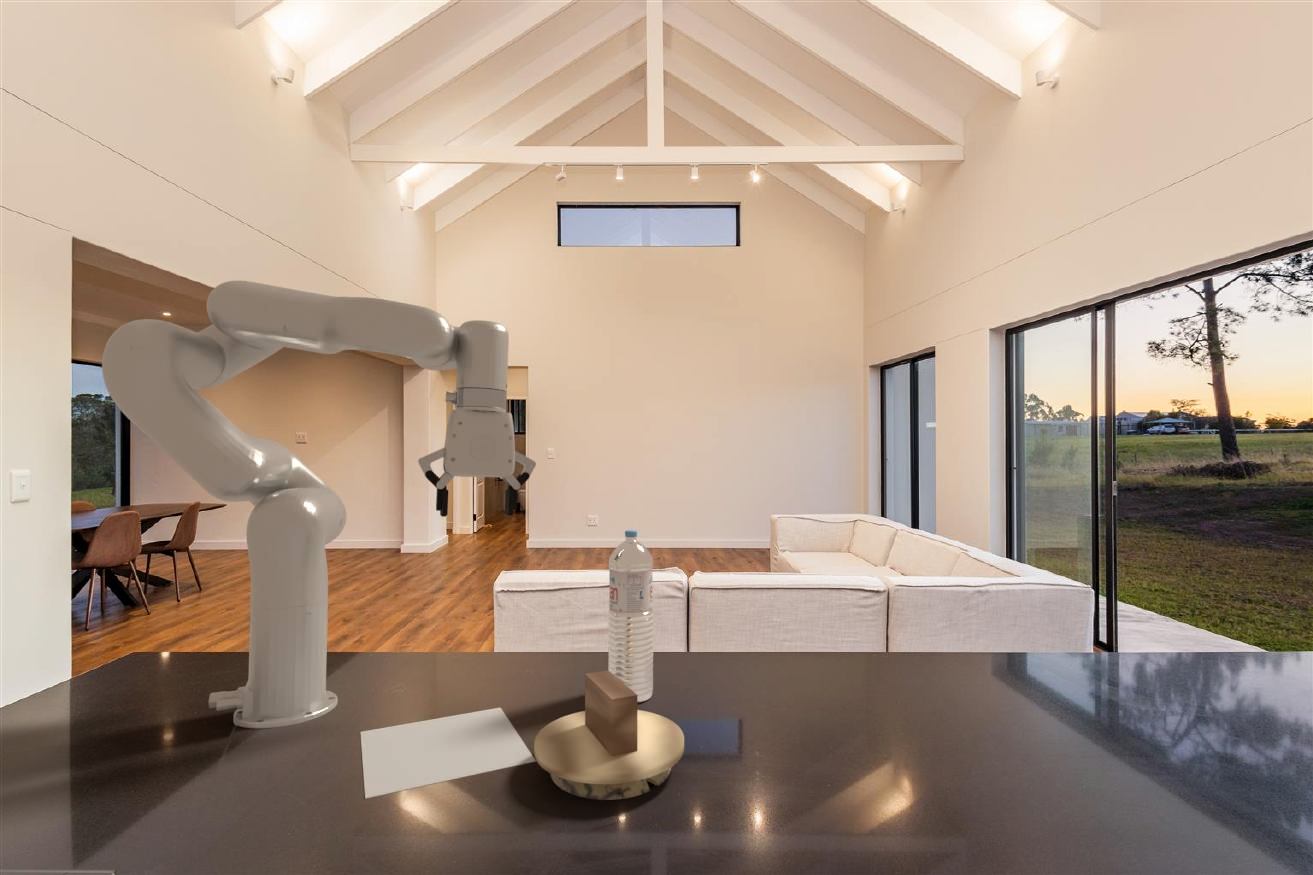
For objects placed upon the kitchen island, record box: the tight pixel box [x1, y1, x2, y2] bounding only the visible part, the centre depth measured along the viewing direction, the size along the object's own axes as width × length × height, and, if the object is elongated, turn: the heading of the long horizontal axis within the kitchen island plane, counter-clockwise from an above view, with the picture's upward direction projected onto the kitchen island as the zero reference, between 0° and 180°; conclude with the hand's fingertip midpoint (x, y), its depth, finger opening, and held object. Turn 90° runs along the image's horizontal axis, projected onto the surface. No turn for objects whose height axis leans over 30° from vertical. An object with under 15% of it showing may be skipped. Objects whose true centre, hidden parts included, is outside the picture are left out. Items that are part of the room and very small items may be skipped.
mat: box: [359, 707, 537, 800], centre depth 76 cm, size 18×18×1 cm
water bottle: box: [607, 529, 654, 704], centre depth 95 cm, size 7×7×25 cm
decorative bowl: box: [549, 767, 672, 801], centre depth 71 cm, size 15×4×15 cm
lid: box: [533, 670, 685, 784], centre depth 71 cm, size 17×17×7 cm
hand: (476, 515), depth 94 cm, fingers open, 9 cm apart
